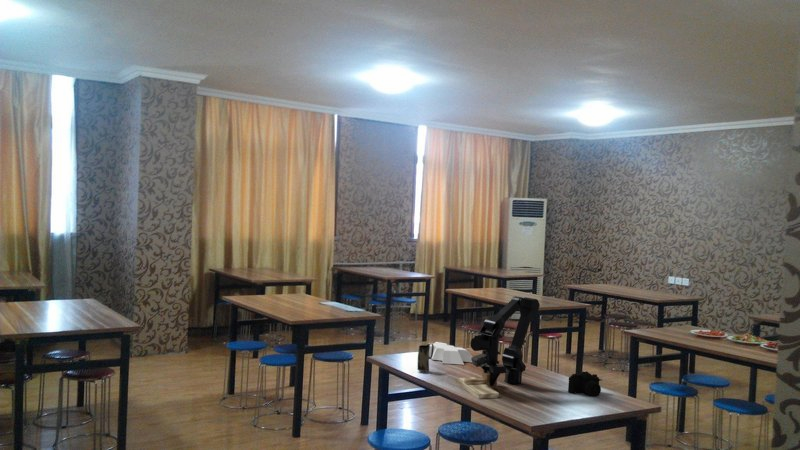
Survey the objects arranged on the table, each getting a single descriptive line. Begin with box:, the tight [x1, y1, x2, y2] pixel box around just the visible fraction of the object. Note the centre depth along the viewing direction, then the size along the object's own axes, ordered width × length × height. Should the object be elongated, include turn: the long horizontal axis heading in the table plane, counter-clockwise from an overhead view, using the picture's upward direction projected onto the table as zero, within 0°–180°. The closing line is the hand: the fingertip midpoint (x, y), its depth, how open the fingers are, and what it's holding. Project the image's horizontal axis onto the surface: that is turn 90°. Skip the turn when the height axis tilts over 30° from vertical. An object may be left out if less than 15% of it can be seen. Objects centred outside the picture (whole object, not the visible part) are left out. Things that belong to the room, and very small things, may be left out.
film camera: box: [567, 370, 603, 398], centre depth 270 cm, size 15×10×9 cm, turn 106°
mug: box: [417, 342, 434, 372], centre depth 298 cm, size 8×6×12 cm
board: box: [454, 376, 500, 400], centre depth 268 cm, size 9×24×2 cm, turn 18°
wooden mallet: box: [464, 372, 498, 390], centre depth 272 cm, size 14×4×6 cm, turn 108°
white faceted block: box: [428, 341, 474, 366], centre depth 327 cm, size 35×20×6 cm, turn 41°
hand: (489, 384), depth 273 cm, fingers closed on wooden mallet, 4 cm apart
